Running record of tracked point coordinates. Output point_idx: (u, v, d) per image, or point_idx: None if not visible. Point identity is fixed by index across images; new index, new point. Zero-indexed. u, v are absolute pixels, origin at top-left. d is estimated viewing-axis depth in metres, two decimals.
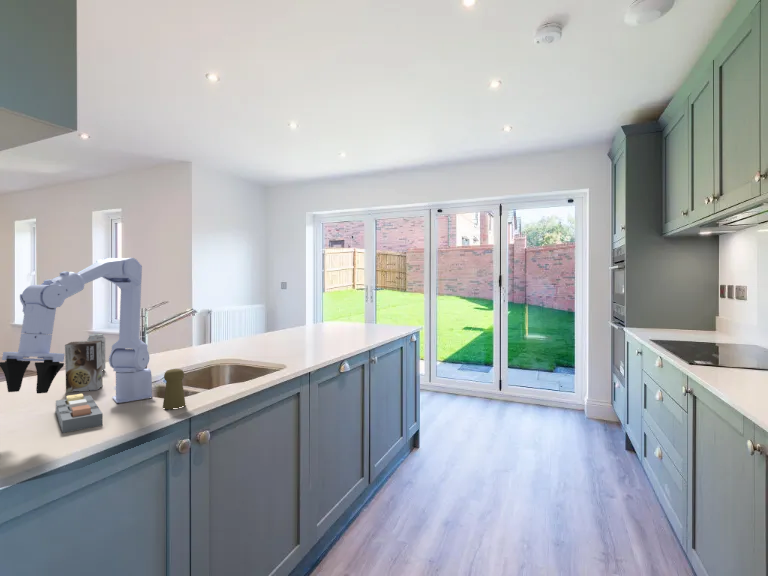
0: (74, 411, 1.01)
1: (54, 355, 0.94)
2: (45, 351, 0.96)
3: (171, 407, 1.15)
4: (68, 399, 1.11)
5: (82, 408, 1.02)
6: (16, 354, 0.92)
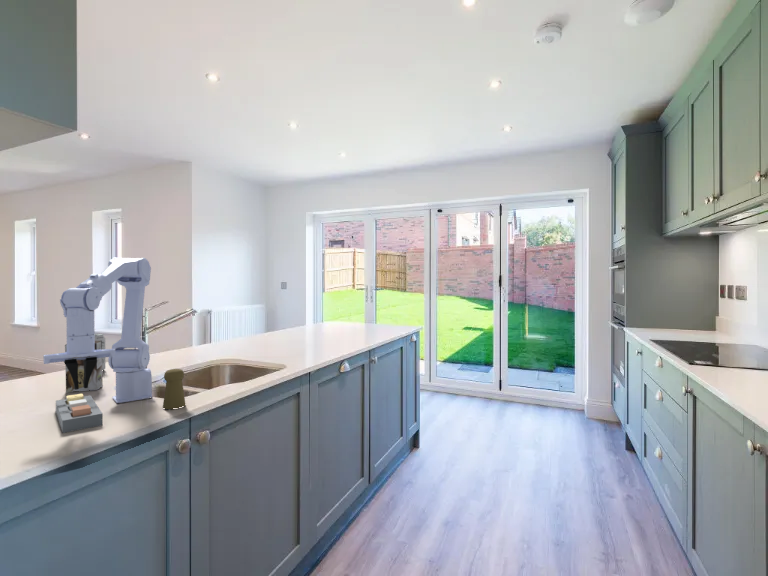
0: (74, 411, 1.01)
1: (112, 351, 1.06)
2: None
3: (171, 407, 1.15)
4: (68, 399, 1.11)
5: (82, 408, 1.02)
6: (82, 355, 1.00)
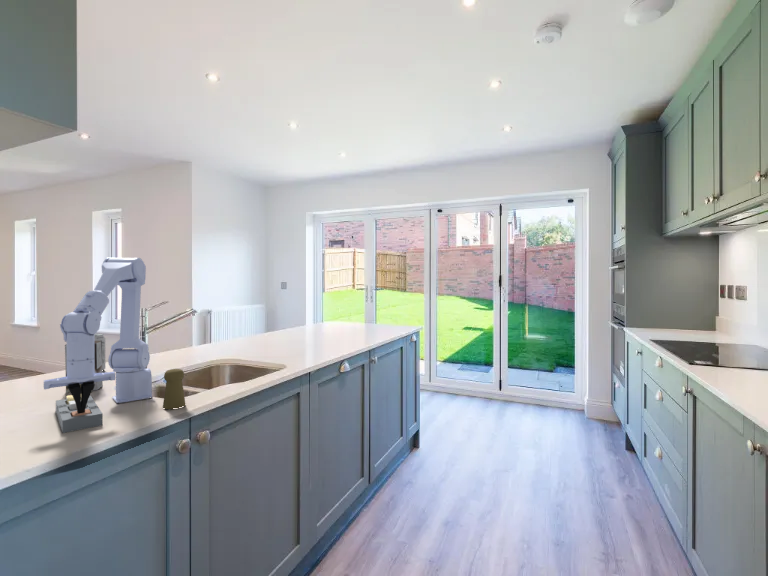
0: None
1: (112, 374, 1.06)
2: None
3: (171, 407, 1.15)
4: (68, 399, 1.11)
5: None
6: (82, 380, 1.00)
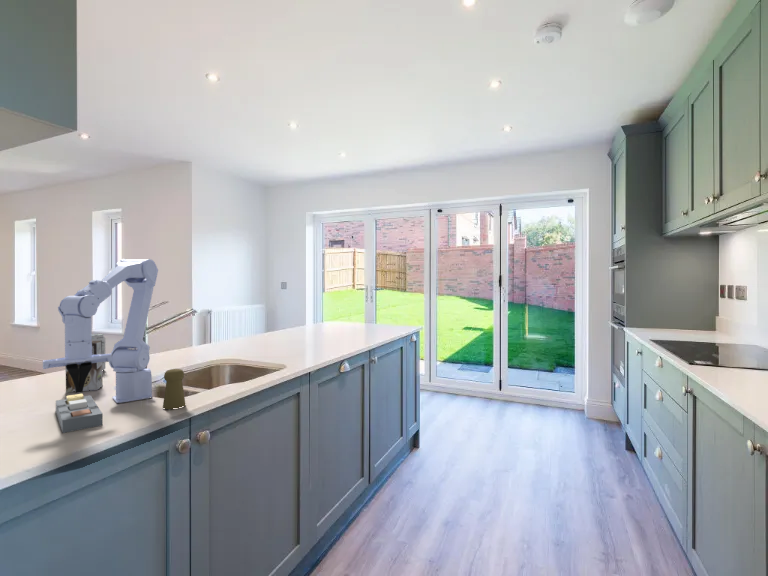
0: None
1: (109, 356, 1.11)
2: (91, 354, 1.09)
3: (171, 407, 1.15)
4: (68, 399, 1.11)
5: (82, 412, 1.02)
6: (80, 361, 1.04)
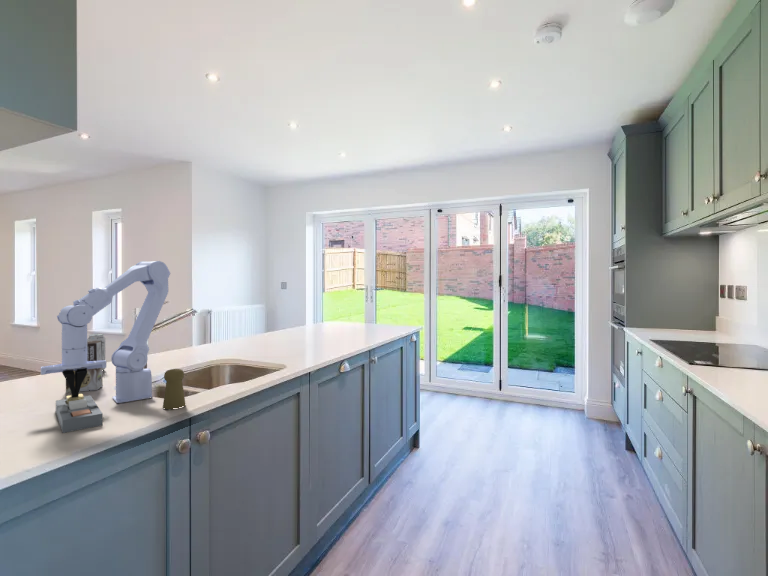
0: None
1: (103, 362, 1.17)
2: (87, 361, 1.15)
3: (171, 407, 1.15)
4: (68, 399, 1.11)
5: (82, 412, 1.02)
6: (76, 367, 1.10)
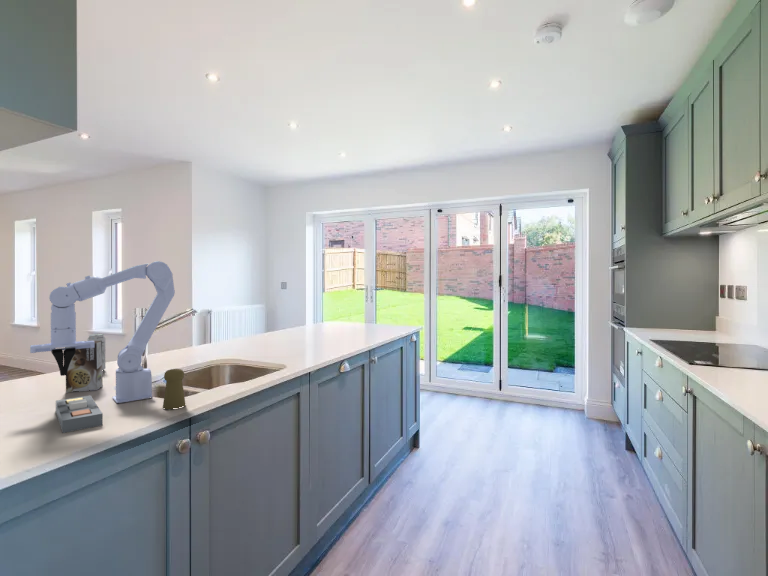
0: None
1: (92, 343, 1.21)
2: (75, 341, 1.19)
3: (171, 407, 1.15)
4: (68, 403, 1.11)
5: (82, 412, 1.02)
6: (64, 346, 1.14)
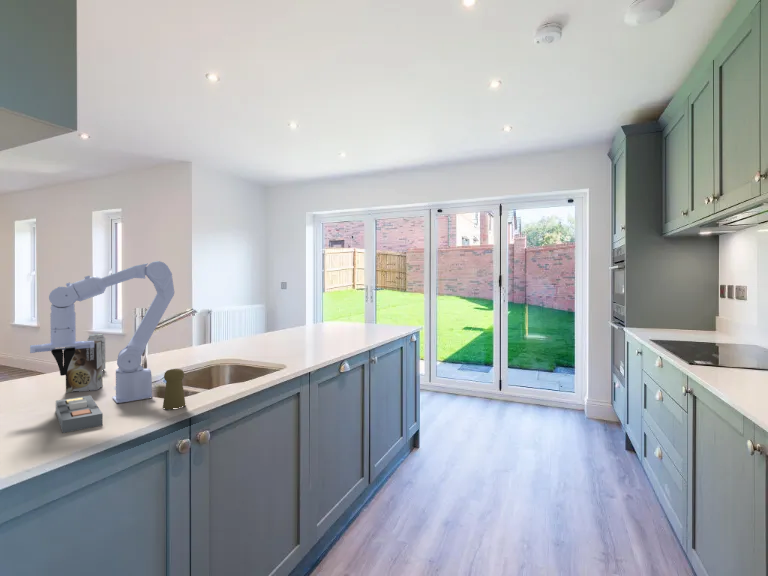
0: None
1: (91, 343, 1.21)
2: None
3: (171, 407, 1.15)
4: (68, 403, 1.11)
5: (82, 412, 1.02)
6: (64, 346, 1.14)
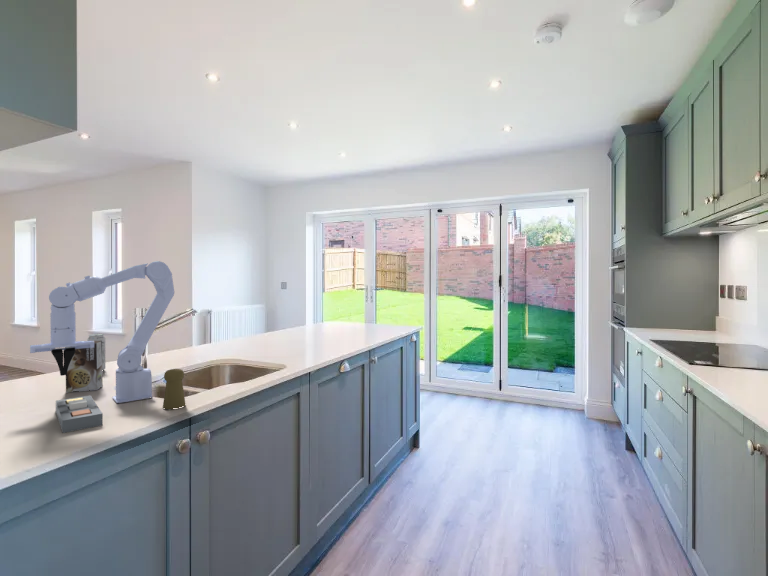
0: None
1: (91, 343, 1.21)
2: None
3: (171, 407, 1.15)
4: (68, 403, 1.11)
5: (82, 412, 1.02)
6: (64, 346, 1.14)
